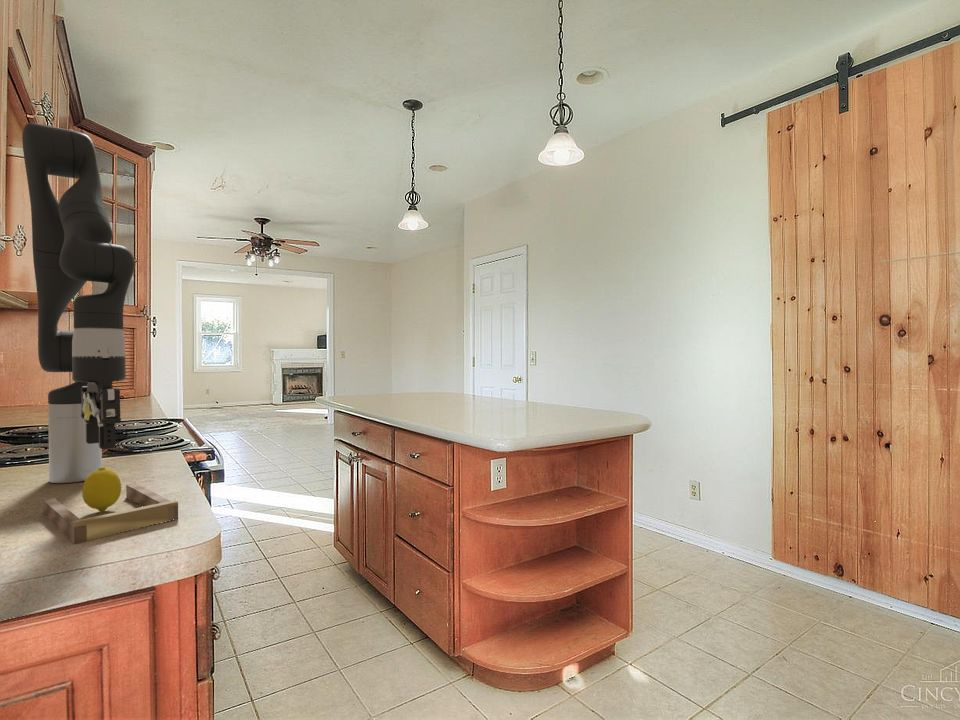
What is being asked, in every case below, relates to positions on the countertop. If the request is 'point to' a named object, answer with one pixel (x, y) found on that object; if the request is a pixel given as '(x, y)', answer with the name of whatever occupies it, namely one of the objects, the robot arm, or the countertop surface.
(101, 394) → the robot arm
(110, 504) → the lemon
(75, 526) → the brown wooden u-shaped frame
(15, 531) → the countertop surface
